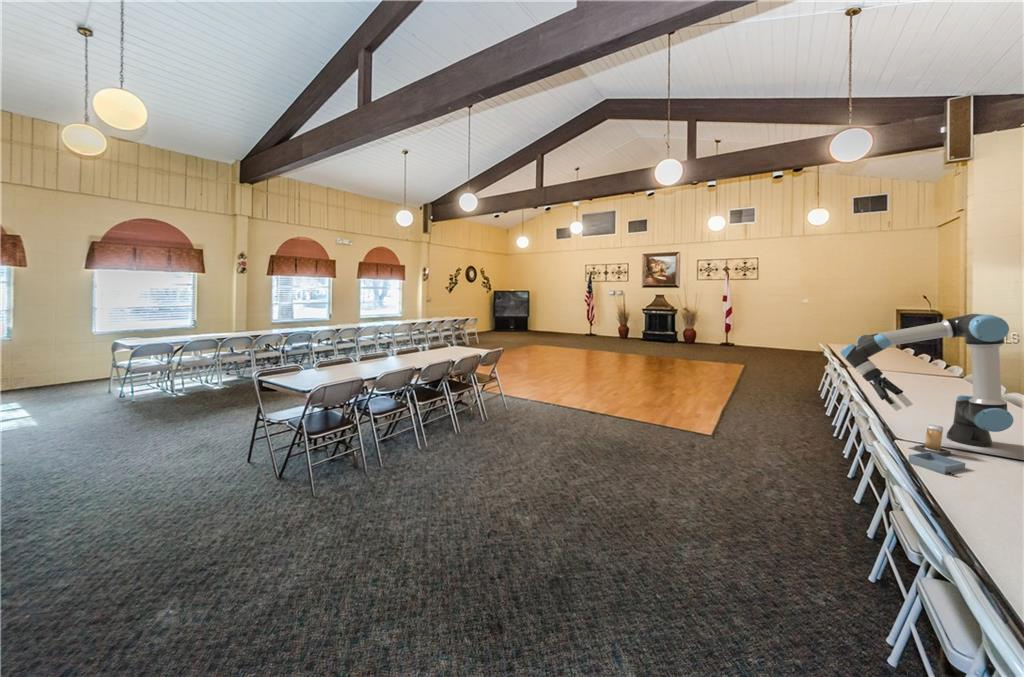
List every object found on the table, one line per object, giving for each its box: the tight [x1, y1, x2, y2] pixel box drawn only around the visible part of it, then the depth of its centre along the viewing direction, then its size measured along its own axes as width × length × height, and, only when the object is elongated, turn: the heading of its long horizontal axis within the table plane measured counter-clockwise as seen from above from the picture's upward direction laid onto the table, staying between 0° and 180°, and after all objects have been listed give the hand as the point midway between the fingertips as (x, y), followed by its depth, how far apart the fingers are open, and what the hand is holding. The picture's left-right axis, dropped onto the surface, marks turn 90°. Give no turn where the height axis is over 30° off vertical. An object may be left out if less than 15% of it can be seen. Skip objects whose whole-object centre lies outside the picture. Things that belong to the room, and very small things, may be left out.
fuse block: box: [907, 444, 957, 458], centre depth 187 cm, size 12×12×2 cm
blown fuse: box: [924, 424, 944, 452], centre depth 186 cm, size 5×5×12 cm
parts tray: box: [907, 452, 967, 476], centre depth 173 cm, size 12×12×4 cm
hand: (904, 407), depth 194 cm, fingers open, 13 cm apart
